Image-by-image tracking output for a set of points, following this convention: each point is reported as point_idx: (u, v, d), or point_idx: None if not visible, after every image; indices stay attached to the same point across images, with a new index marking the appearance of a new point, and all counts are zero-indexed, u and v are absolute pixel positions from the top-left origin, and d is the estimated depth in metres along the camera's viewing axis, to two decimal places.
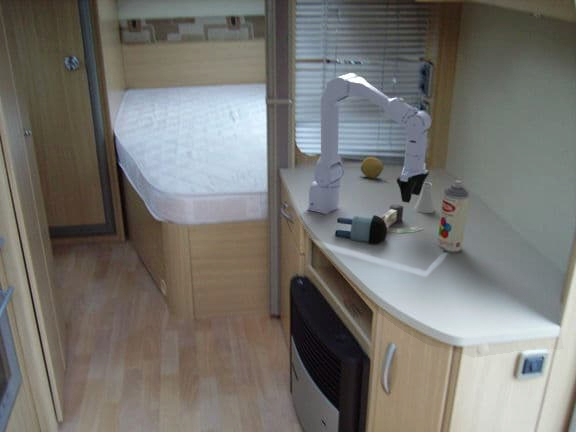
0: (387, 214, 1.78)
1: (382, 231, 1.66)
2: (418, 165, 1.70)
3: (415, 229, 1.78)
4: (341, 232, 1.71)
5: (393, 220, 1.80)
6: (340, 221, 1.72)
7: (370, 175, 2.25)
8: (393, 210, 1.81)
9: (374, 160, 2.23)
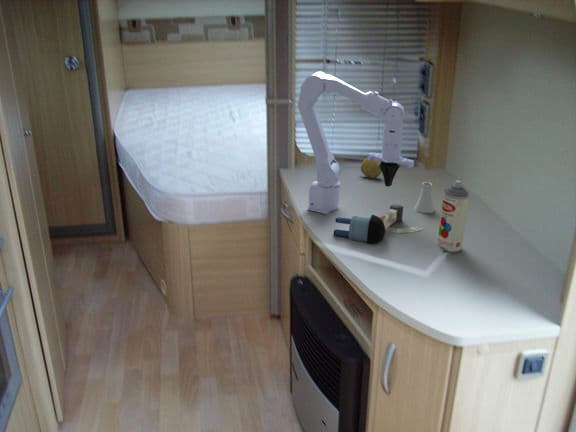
0: (387, 214, 1.78)
1: (380, 231, 1.66)
2: (382, 152, 1.82)
3: (415, 229, 1.78)
4: (339, 232, 1.71)
5: (393, 220, 1.80)
6: (338, 221, 1.72)
7: (370, 175, 2.25)
8: (393, 210, 1.81)
9: None
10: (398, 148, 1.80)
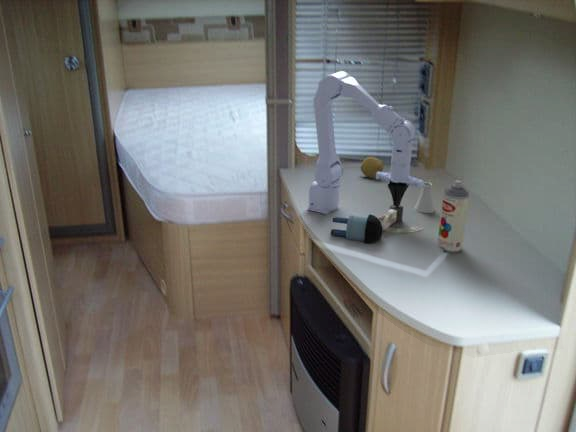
0: (387, 214, 1.78)
1: (377, 230, 1.66)
2: (391, 171, 1.78)
3: (415, 229, 1.78)
4: (337, 231, 1.71)
5: (393, 220, 1.80)
6: (336, 220, 1.72)
7: (370, 175, 2.25)
8: (393, 210, 1.81)
9: (374, 159, 2.23)
10: (407, 168, 1.76)
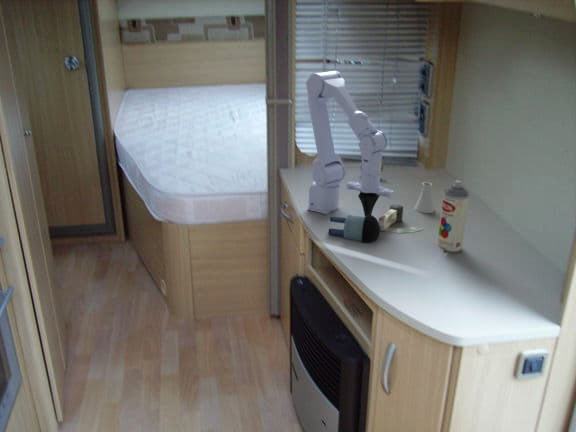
0: (387, 214, 1.78)
1: (375, 230, 1.67)
2: (361, 181, 1.77)
3: (415, 229, 1.78)
4: (334, 231, 1.72)
5: (393, 220, 1.80)
6: (333, 220, 1.72)
7: None
8: (393, 210, 1.81)
9: None
10: (377, 178, 1.75)
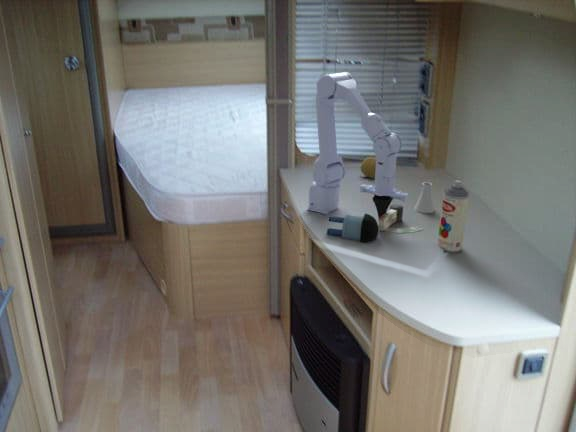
0: (387, 214, 1.78)
1: (373, 229, 1.67)
2: (375, 184, 1.75)
3: (415, 229, 1.78)
4: (333, 230, 1.72)
5: (393, 220, 1.80)
6: (332, 220, 1.72)
7: (370, 175, 2.25)
8: (393, 210, 1.81)
9: (374, 160, 2.23)
10: (391, 181, 1.73)
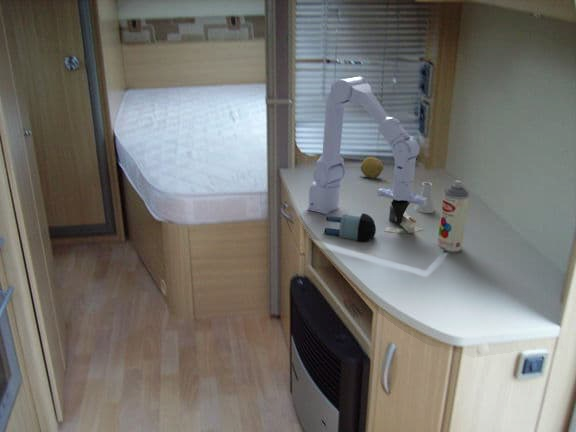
0: (406, 215, 1.77)
1: (370, 229, 1.67)
2: (393, 188, 1.72)
3: (415, 229, 1.78)
4: (330, 230, 1.72)
5: None
6: (329, 219, 1.73)
7: (370, 175, 2.25)
8: None
9: (374, 159, 2.23)
10: (410, 185, 1.70)
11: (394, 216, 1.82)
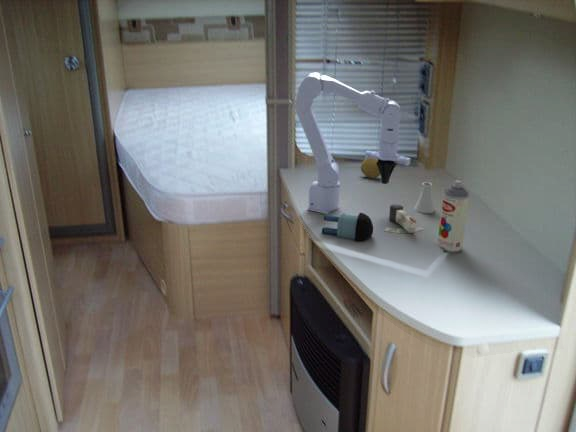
0: (406, 215, 1.77)
1: (368, 228, 1.67)
2: (379, 149, 1.84)
3: (415, 229, 1.78)
4: (328, 229, 1.72)
5: None
6: (327, 219, 1.73)
7: (370, 175, 2.25)
8: (401, 210, 1.80)
9: (374, 159, 2.23)
10: (395, 146, 1.82)
11: (394, 216, 1.82)
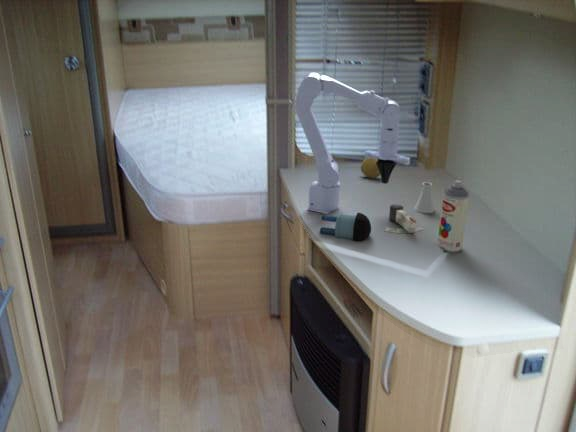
0: (406, 215, 1.77)
1: (366, 228, 1.68)
2: (379, 149, 1.84)
3: (415, 229, 1.78)
4: (326, 229, 1.73)
5: None
6: (325, 218, 1.73)
7: (370, 175, 2.25)
8: (401, 210, 1.80)
9: (374, 159, 2.23)
10: (394, 146, 1.82)
11: (394, 216, 1.82)
